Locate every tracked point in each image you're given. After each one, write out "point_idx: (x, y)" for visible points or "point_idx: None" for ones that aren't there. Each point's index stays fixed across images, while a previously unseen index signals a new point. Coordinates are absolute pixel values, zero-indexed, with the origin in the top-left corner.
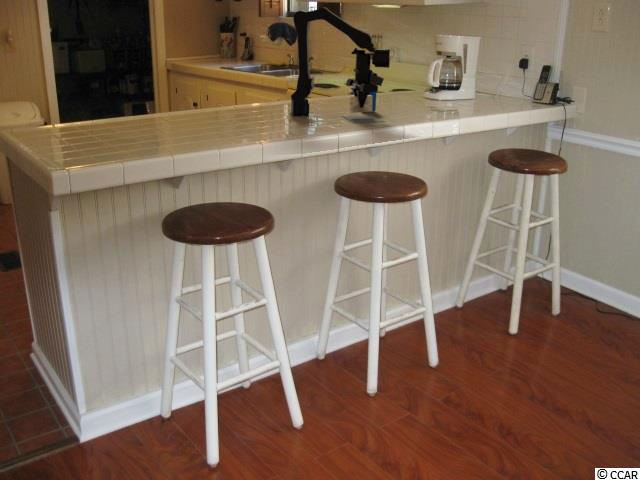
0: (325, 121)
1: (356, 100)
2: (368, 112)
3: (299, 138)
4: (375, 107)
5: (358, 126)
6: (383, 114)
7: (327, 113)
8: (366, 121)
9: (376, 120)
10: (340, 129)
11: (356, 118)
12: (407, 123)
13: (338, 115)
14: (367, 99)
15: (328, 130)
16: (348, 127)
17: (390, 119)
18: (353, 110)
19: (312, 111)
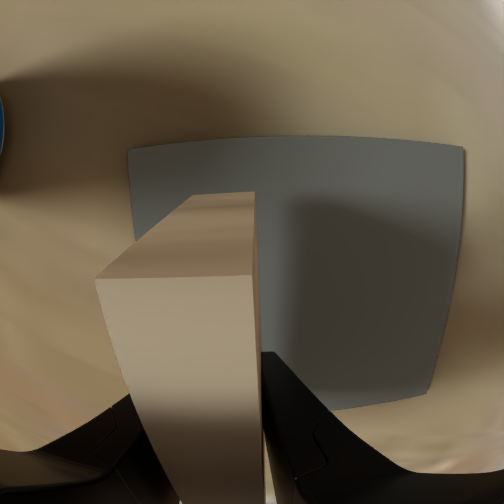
0: None
1: (264, 484)
2: (1, 141)
3: None
4: None
5: (484, 375)
6: (66, 26)
7: (55, 417)
8: (423, 307)
9: (407, 202)
10: (482, 442)
11: (281, 350)
12: (473, 8)
13: (103, 397)
14: (259, 360)
15: (469, 470)
16: (475, 418)
17: (314, 22)
18: None
19: (30, 441)
